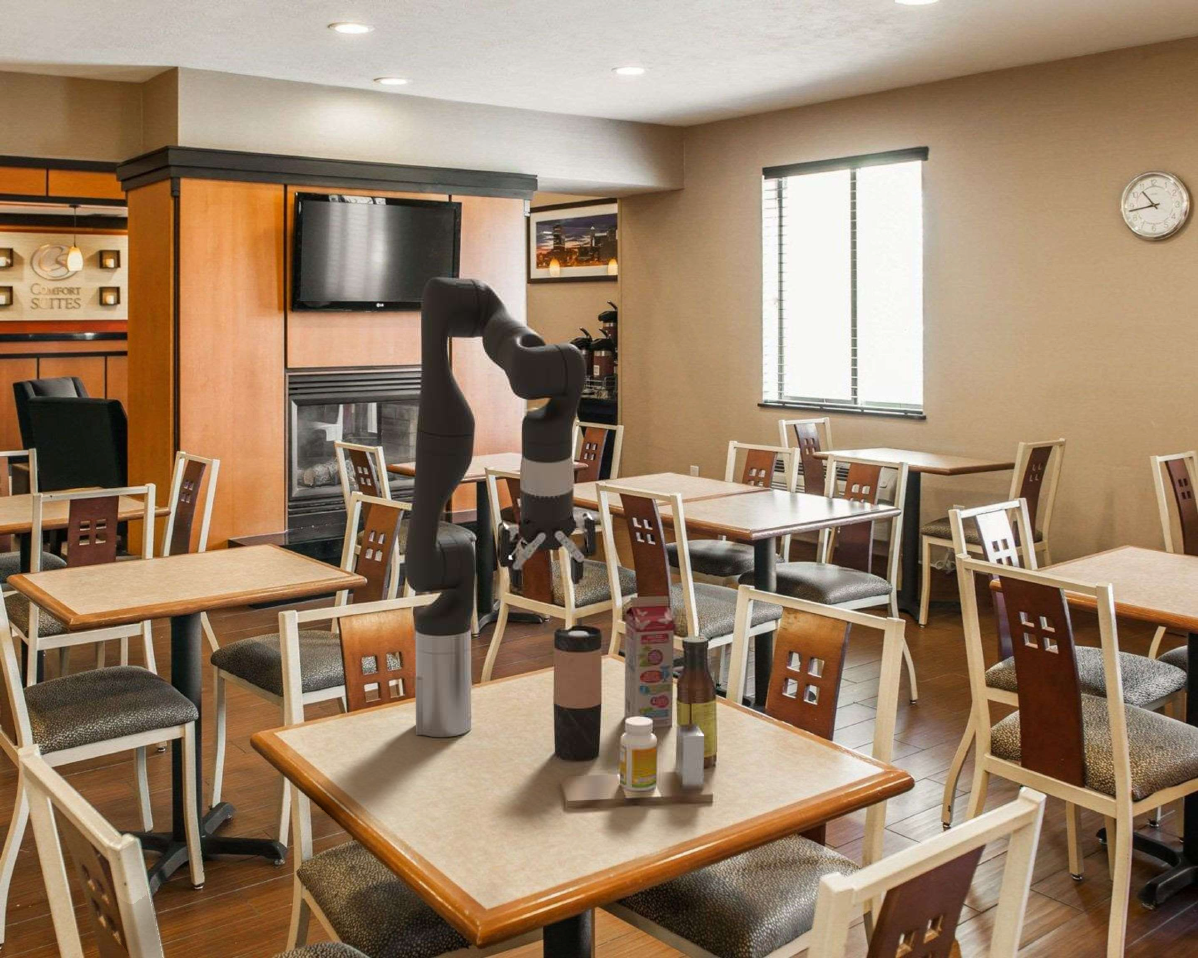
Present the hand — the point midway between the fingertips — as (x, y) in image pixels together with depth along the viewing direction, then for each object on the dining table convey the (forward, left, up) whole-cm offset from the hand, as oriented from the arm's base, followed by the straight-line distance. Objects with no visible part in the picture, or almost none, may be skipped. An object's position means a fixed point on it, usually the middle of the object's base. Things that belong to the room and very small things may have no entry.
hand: (546, 585), depth 168 cm
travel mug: (+6, +11, -30) cm, 33 cm away
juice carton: (+20, +25, -30) cm, 44 cm away
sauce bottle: (+24, +5, -30) cm, 39 cm away
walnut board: (+13, -6, -30) cm, 33 cm away
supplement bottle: (+13, -6, -29) cm, 32 cm away
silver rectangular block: (+21, -6, -29) cm, 36 cm away
